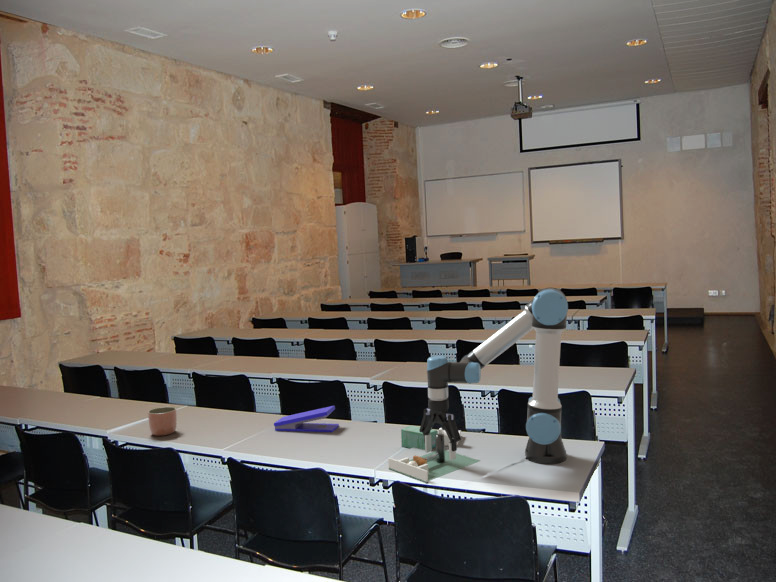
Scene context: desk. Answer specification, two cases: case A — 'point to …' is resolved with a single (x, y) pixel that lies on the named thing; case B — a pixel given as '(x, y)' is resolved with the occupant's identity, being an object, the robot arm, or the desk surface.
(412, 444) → the box
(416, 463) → the ball
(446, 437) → the bracket
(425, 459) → the small squeegee
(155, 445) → the desk surface
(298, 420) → the stapler
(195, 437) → the desk surface
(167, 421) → the planter
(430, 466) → the pitch
